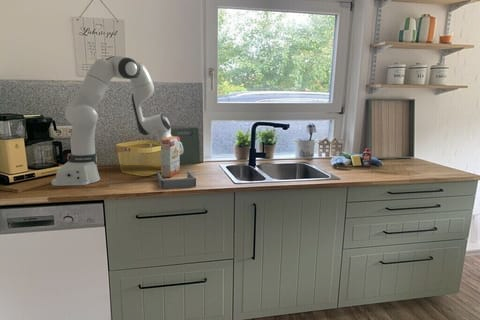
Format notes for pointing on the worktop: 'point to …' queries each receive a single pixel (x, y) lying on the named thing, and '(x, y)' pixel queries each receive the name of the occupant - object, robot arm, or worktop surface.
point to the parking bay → (177, 181)
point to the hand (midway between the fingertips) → (167, 160)
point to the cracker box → (170, 156)
